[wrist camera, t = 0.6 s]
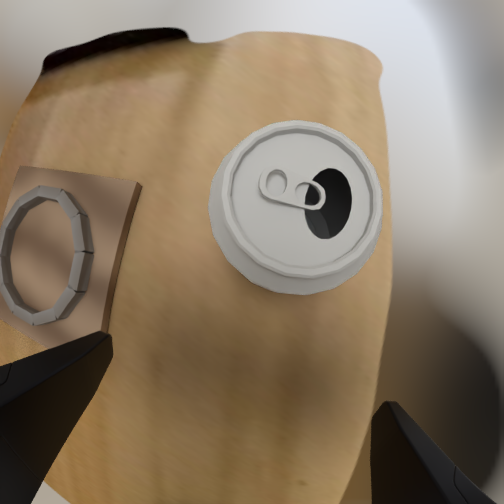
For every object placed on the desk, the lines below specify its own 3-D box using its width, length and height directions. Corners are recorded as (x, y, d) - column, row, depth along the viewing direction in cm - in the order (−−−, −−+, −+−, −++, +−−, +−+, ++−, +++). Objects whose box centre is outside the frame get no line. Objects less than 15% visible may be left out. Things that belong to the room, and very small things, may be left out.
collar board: (102, 368, 21) (86, 376, 18) (-5, 309, 21) (-22, 310, 19) (142, 186, 22) (129, 175, 20) (26, 169, 23) (11, 161, 20)
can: (314, 301, 21) (380, 317, 9) (218, 276, 22) (174, 264, 10) (335, 208, 22) (405, 137, 10) (244, 183, 22) (234, 87, 10)
